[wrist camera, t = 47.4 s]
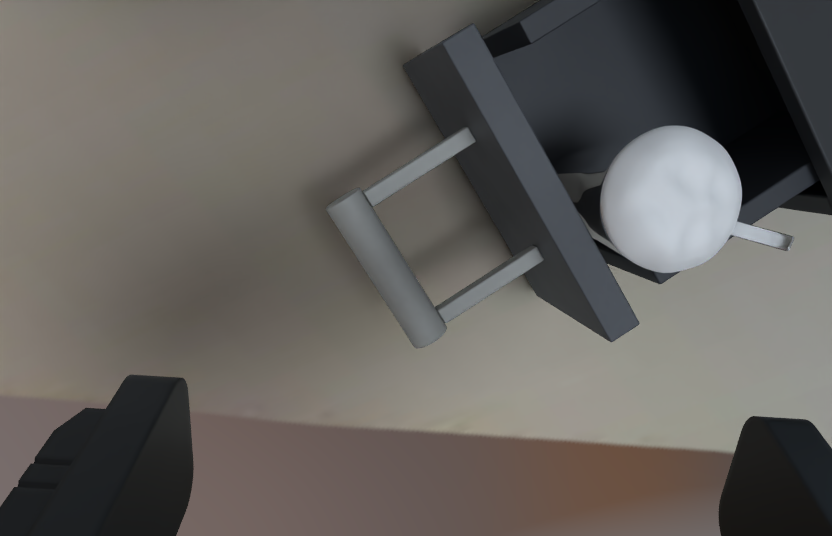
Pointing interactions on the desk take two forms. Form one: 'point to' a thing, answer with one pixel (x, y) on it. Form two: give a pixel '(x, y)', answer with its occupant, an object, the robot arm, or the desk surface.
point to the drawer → (576, 141)
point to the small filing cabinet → (801, 80)
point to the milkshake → (661, 198)
